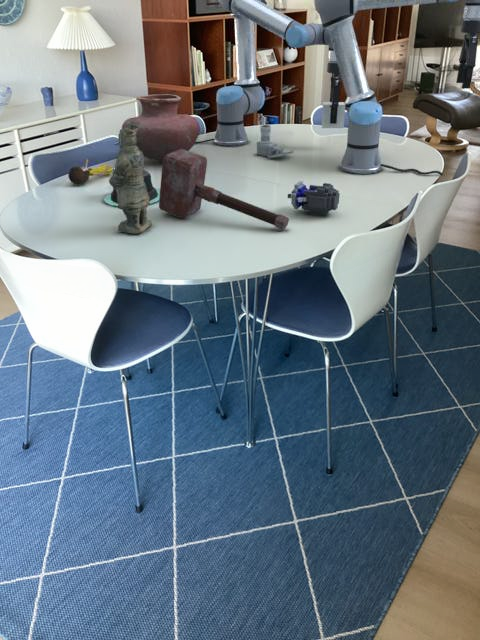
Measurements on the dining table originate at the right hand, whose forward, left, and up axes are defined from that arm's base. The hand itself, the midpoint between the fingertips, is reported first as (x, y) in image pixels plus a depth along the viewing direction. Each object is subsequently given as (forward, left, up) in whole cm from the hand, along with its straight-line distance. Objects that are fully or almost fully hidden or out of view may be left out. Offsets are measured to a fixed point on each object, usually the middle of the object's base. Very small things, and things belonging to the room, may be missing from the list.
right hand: (462, 85), depth 203 cm
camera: (+69, -12, -28) cm, 75 cm away
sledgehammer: (+85, +62, -28) cm, 109 cm away
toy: (+59, +56, -28) cm, 86 cm away
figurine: (+135, +16, -28) cm, 139 cm away
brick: (+43, -26, -19) cm, 54 cm away
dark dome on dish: (+117, +39, -28) cm, 127 cm away
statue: (+111, +69, -28) cm, 134 cm away
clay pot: (+114, -8, -28) cm, 118 cm away
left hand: (+43, -26, -17) cm, 53 cm away
